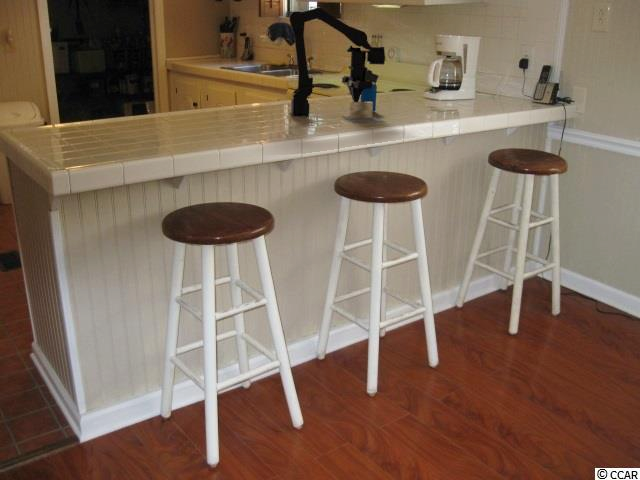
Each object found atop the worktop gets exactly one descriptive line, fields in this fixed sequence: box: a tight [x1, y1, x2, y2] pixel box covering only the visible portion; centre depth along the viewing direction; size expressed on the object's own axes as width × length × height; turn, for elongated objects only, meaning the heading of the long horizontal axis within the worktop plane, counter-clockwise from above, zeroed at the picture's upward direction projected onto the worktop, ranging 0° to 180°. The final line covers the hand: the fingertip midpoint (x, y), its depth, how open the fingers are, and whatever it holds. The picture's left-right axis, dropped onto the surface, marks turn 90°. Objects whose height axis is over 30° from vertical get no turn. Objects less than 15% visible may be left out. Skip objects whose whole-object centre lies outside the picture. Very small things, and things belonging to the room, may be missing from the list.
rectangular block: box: [349, 101, 374, 118], centre depth 251 cm, size 9×2×6 cm, turn 109°
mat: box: [341, 115, 386, 124], centre depth 249 cm, size 13×14×1 cm
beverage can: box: [360, 82, 378, 113], centre depth 265 cm, size 6×6×12 cm
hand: (355, 104), depth 254 cm, fingers closed
